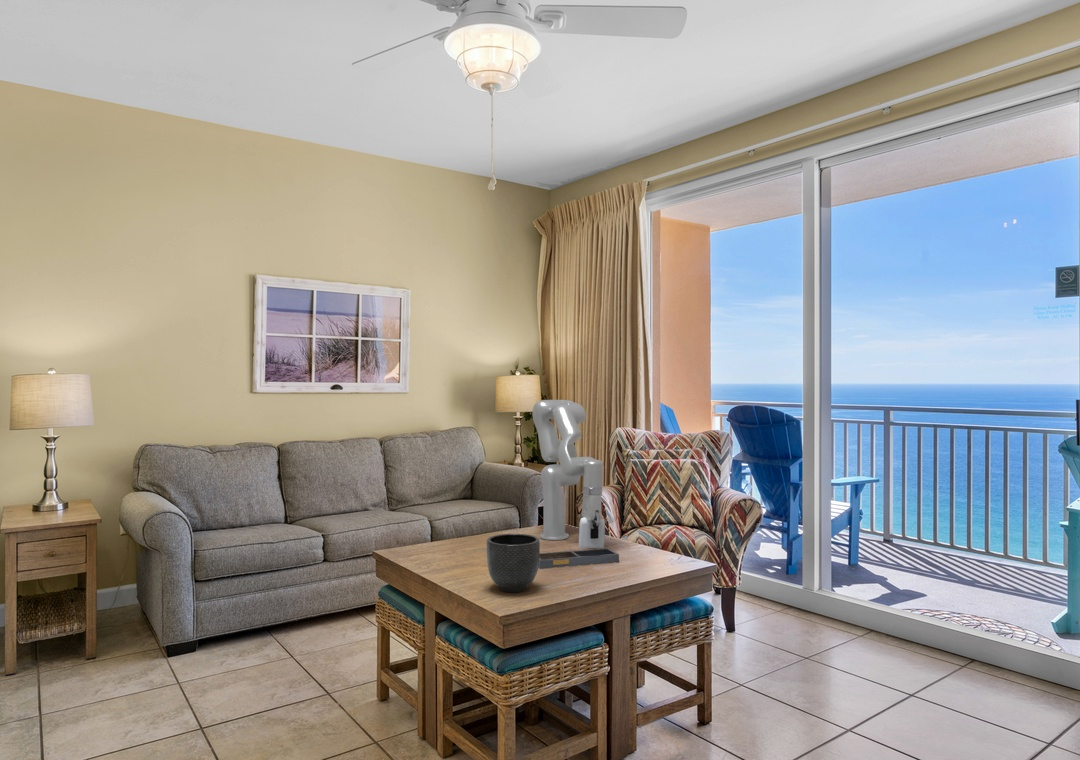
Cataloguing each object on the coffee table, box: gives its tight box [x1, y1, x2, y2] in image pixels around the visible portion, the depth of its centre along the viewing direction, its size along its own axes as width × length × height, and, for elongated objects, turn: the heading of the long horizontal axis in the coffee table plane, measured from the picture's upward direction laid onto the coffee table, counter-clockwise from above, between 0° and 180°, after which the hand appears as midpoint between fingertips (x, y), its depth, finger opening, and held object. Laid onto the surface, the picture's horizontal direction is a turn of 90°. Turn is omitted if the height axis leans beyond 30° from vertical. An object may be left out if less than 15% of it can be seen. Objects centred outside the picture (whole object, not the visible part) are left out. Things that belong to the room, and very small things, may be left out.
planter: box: [486, 533, 541, 593], centre depth 219 cm, size 17×17×16 cm
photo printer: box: [578, 517, 606, 549], centre depth 268 cm, size 10×4×12 cm, turn 98°
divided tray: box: [538, 547, 620, 570], centre depth 252 cm, size 10×31×3 cm, turn 108°
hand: (591, 536), depth 268 cm, fingers closed on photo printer, 4 cm apart
